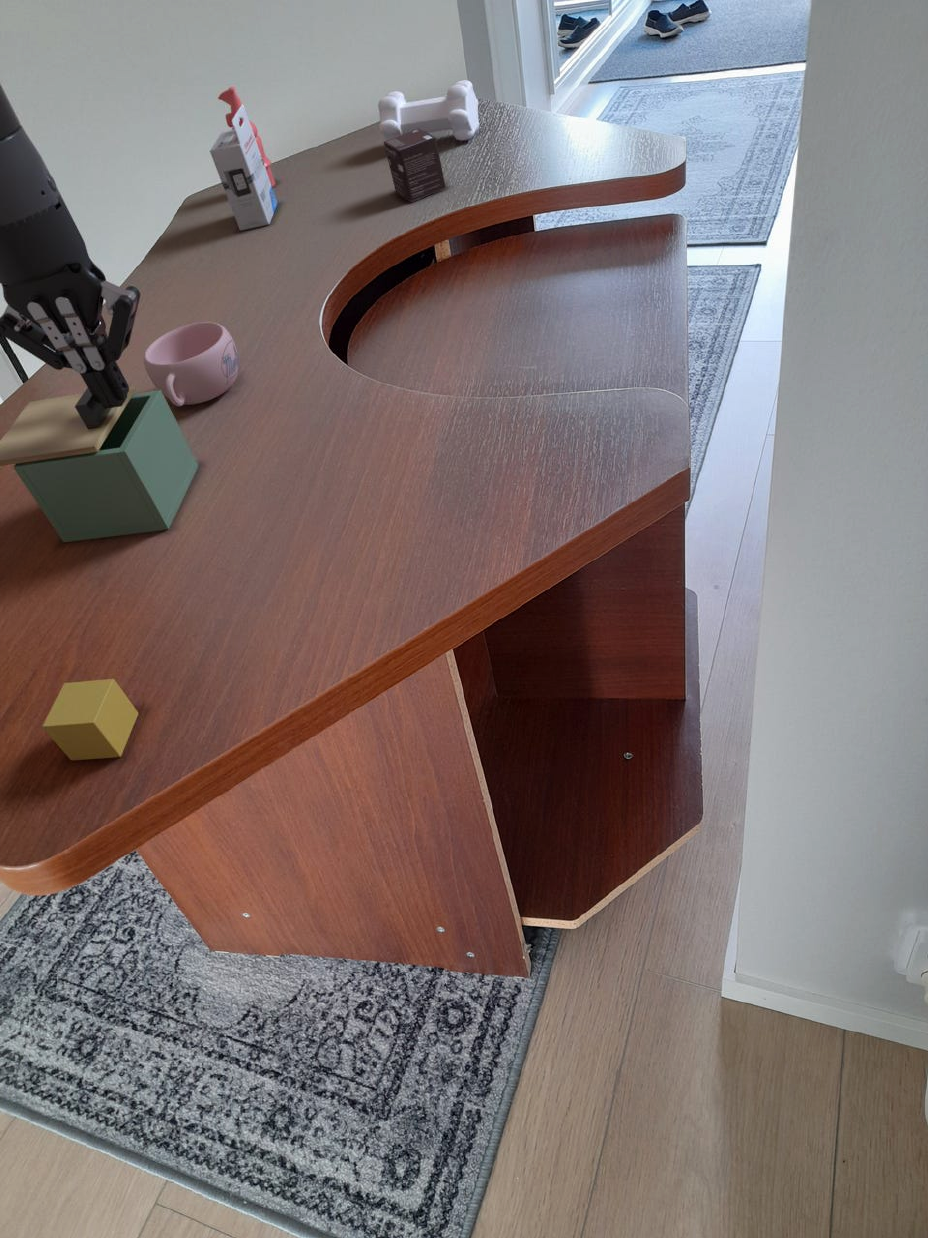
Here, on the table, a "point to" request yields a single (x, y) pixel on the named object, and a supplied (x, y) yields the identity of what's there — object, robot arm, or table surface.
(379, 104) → the dog bone
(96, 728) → the block
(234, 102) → the figurine
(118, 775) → the table surface
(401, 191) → the box
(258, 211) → the ink box
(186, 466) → the case
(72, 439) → the slide door
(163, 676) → the table surface
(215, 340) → the mug
